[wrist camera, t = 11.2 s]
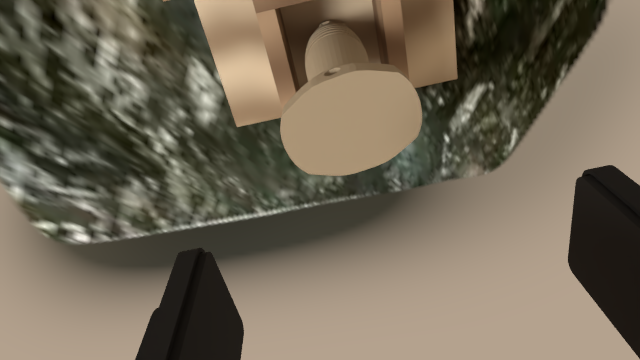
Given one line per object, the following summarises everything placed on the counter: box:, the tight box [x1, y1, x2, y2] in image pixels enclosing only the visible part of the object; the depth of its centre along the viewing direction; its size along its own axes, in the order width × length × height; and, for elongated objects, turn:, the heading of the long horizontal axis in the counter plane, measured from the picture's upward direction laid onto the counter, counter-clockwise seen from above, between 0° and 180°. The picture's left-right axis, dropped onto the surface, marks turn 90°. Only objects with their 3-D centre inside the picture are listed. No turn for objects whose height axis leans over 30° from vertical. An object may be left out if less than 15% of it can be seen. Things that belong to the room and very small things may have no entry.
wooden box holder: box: [163, 0, 457, 127], centre depth 30 cm, size 12×18×8 cm, turn 102°
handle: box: [280, 20, 422, 176], centre depth 26 cm, size 5×6×15 cm
